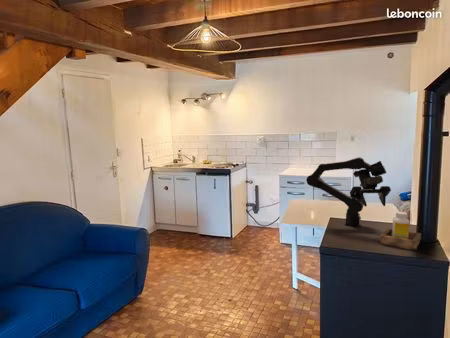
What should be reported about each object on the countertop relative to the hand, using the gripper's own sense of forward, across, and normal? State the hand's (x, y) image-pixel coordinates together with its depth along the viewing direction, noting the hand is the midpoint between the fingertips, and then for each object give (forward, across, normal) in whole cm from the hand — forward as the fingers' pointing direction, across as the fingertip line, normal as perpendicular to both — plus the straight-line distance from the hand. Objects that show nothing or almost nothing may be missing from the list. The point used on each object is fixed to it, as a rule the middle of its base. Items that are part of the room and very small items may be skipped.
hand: (375, 205), depth 169 cm
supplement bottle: (+19, +5, -1) cm, 20 cm away
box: (+20, +5, -1) cm, 20 cm away
